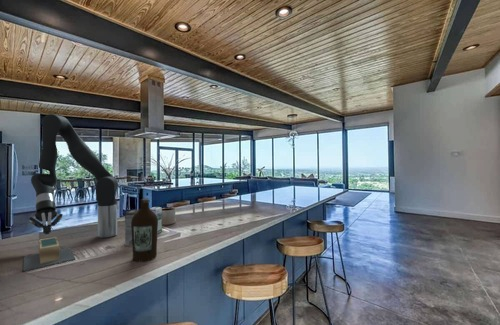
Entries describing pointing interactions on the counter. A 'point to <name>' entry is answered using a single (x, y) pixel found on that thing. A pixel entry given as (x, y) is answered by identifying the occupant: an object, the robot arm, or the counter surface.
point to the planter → (168, 216)
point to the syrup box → (159, 215)
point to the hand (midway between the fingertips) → (47, 233)
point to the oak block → (48, 249)
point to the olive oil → (144, 233)
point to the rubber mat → (34, 262)
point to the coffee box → (129, 227)
